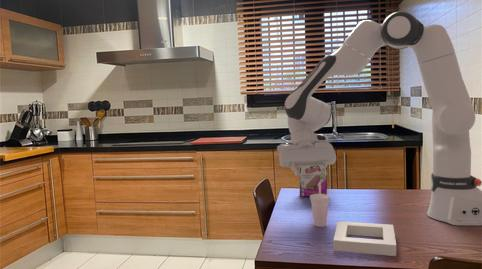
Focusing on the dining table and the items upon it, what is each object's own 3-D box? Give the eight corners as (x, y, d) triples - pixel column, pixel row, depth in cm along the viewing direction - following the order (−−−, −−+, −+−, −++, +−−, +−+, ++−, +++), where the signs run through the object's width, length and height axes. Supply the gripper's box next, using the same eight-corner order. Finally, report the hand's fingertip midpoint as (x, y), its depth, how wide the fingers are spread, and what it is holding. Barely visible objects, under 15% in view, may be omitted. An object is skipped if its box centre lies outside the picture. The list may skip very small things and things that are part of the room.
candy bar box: (300, 197, 162) (299, 158, 160) (299, 194, 167) (298, 156, 165) (327, 197, 161) (327, 157, 159) (326, 194, 166) (325, 155, 164)
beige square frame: (393, 234, 118) (393, 224, 118) (396, 256, 103) (396, 245, 103) (338, 230, 123) (338, 221, 123) (333, 250, 108) (333, 240, 108)
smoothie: (331, 222, 131) (330, 181, 129) (329, 229, 125) (328, 185, 123) (311, 221, 133) (311, 180, 131) (308, 227, 127) (307, 184, 125)
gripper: (277, 139, 143) (282, 170, 135) (332, 136, 145) (341, 167, 136) (275, 149, 148) (280, 180, 139) (328, 146, 150) (337, 177, 141)
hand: (311, 174), depth 138 cm, fingers open, 8 cm apart
